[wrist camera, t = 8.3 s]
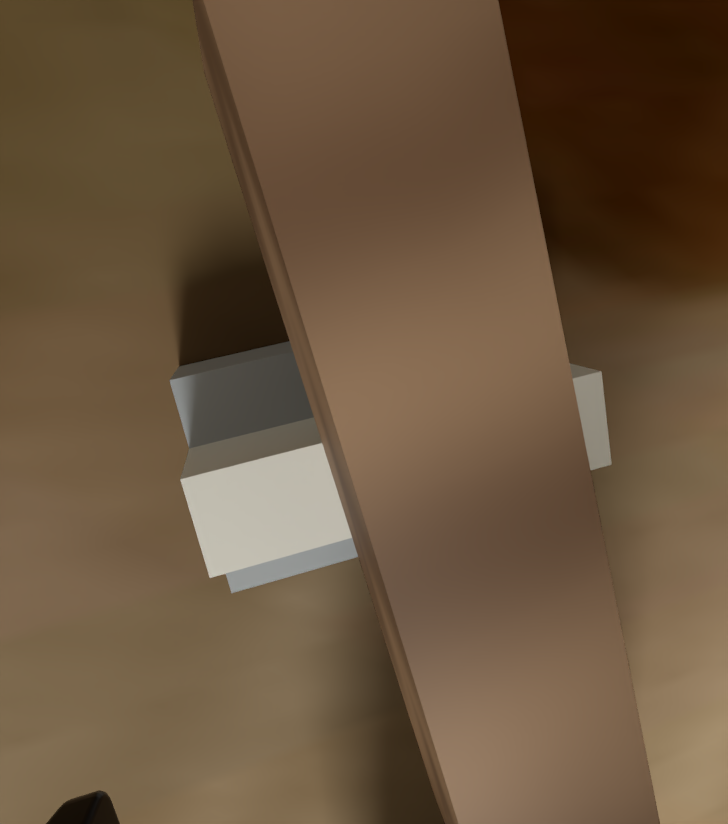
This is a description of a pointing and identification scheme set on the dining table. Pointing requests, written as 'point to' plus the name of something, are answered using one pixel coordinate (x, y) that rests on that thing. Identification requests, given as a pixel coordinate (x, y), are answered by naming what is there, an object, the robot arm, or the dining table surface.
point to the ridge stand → (283, 465)
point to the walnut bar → (439, 386)
